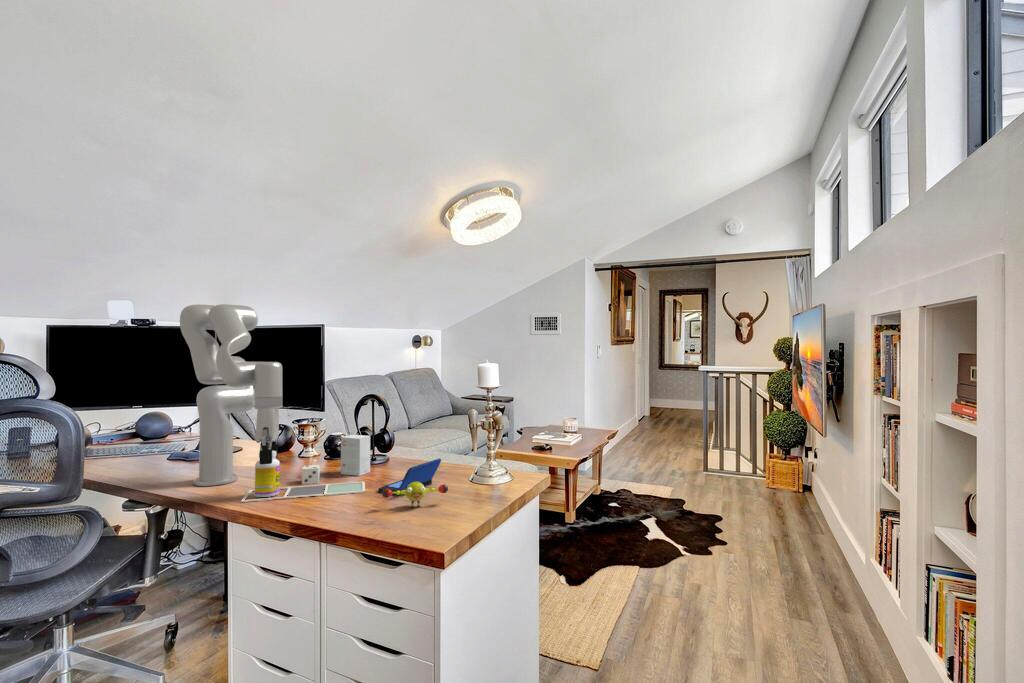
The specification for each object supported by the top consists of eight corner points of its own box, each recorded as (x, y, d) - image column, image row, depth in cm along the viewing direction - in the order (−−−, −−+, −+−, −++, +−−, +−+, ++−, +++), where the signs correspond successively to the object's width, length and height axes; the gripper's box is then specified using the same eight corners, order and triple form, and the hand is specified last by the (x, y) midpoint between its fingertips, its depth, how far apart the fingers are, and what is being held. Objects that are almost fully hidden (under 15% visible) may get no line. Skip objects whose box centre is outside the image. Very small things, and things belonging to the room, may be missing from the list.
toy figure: (382, 512, 130) (382, 487, 130) (381, 506, 135) (381, 481, 135) (449, 506, 135) (449, 482, 135) (446, 501, 140) (446, 477, 140)
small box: (370, 472, 174) (370, 435, 175) (359, 476, 168) (359, 438, 169) (351, 470, 177) (352, 434, 178) (340, 474, 171) (340, 437, 172)
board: (249, 491, 150) (249, 490, 150) (364, 482, 160) (364, 481, 160) (240, 502, 138) (240, 501, 138) (365, 492, 148) (365, 490, 149)
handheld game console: (410, 481, 163) (411, 453, 163) (442, 487, 156) (442, 457, 156) (375, 493, 149) (376, 462, 149) (409, 499, 142) (409, 467, 143)
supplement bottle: (278, 497, 144) (279, 453, 144) (253, 499, 141) (253, 455, 142) (280, 491, 150) (280, 449, 150) (256, 493, 148) (256, 450, 148)
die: (303, 481, 163) (303, 465, 163) (319, 479, 164) (319, 464, 164) (301, 484, 158) (301, 469, 158) (318, 483, 159) (318, 468, 159)
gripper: (260, 401, 153) (260, 456, 153) (248, 406, 137) (248, 467, 136) (286, 400, 156) (286, 454, 155) (277, 404, 139) (278, 465, 139)
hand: (268, 460), depth 146 cm, fingers open, 9 cm apart
